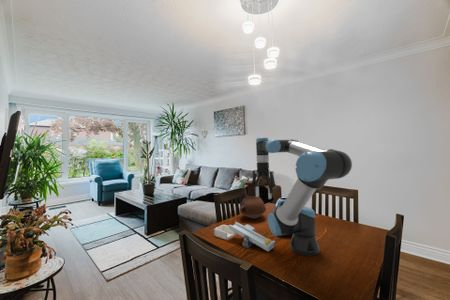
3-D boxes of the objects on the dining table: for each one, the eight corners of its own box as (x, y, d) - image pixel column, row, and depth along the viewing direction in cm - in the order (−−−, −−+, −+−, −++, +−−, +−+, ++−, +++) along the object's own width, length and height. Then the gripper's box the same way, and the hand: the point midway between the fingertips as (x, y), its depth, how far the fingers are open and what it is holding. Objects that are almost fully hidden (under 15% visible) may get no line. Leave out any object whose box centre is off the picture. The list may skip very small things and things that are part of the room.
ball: (271, 245, 113) (273, 240, 112) (268, 248, 110) (270, 242, 110) (265, 241, 115) (267, 236, 114) (262, 243, 113) (264, 238, 112)
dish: (236, 234, 133) (235, 228, 133) (226, 240, 126) (226, 232, 126) (223, 230, 140) (223, 224, 140) (214, 235, 133) (213, 228, 133)
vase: (253, 212, 178) (252, 178, 178) (272, 217, 163) (271, 180, 163) (233, 219, 162) (232, 182, 162) (252, 226, 147) (251, 185, 147)
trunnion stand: (258, 241, 123) (258, 231, 123) (248, 248, 114) (247, 238, 114) (253, 239, 126) (252, 229, 126) (242, 246, 117) (242, 236, 117)
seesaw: (279, 242, 118) (280, 237, 118) (268, 251, 109) (269, 245, 108) (240, 222, 136) (241, 217, 136) (228, 228, 126) (229, 223, 126)
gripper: (280, 161, 124) (281, 198, 124) (251, 161, 138) (252, 194, 138) (275, 162, 119) (276, 201, 119) (245, 161, 132) (246, 196, 132)
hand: (263, 197), depth 128 cm, fingers open, 8 cm apart
